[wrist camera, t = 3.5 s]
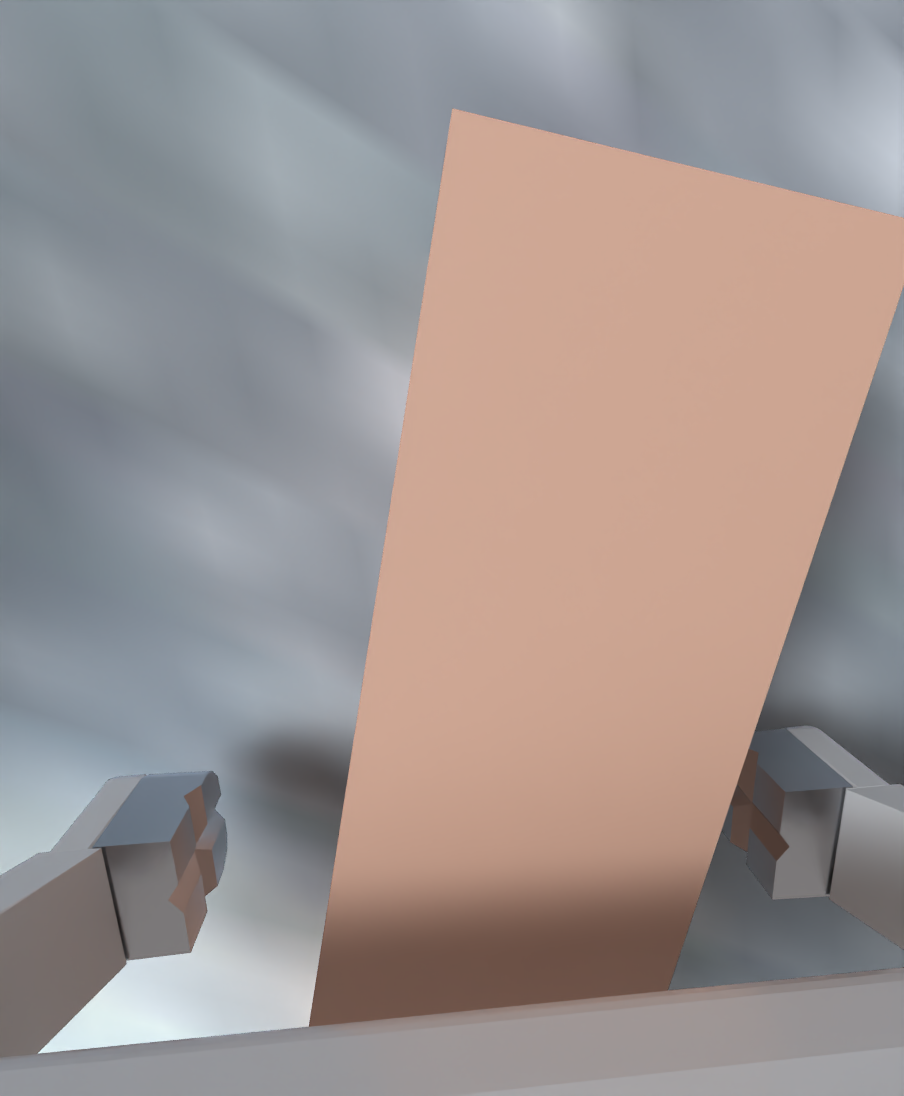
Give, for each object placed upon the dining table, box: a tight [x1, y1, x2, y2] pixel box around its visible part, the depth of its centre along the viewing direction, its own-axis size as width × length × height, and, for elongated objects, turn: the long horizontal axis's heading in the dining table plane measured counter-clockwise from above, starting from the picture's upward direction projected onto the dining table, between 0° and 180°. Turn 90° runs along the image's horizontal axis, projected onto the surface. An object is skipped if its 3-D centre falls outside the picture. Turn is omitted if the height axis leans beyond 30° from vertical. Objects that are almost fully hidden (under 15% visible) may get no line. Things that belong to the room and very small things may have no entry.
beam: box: [309, 108, 904, 1027], centre depth 9 cm, size 16×4×5 cm, turn 170°
